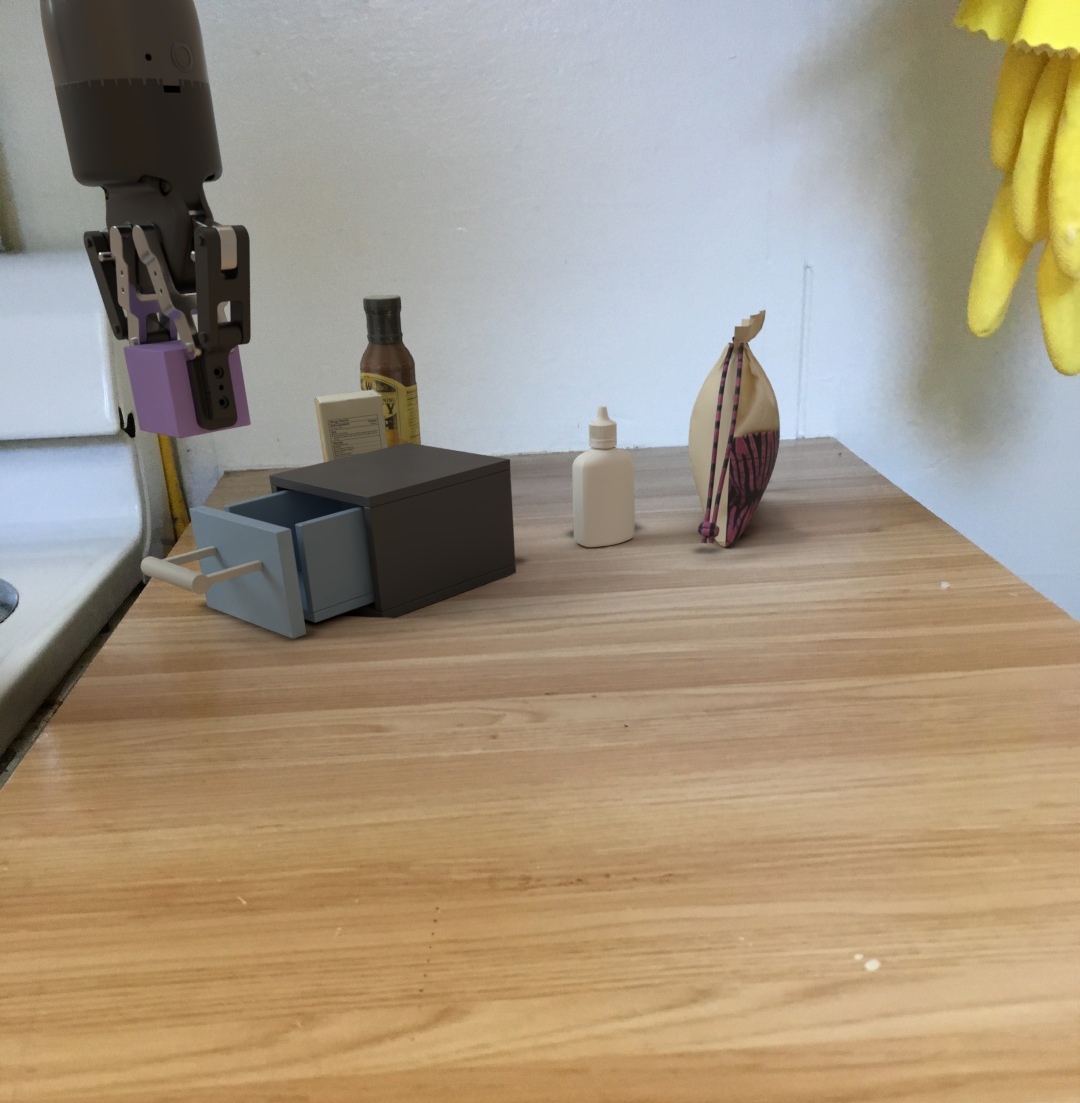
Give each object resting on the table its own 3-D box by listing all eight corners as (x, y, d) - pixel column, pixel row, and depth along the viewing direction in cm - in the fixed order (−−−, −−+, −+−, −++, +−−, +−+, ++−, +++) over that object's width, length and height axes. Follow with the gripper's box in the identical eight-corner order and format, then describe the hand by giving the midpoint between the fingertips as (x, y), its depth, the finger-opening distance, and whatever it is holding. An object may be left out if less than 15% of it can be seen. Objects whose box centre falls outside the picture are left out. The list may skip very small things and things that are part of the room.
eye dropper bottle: (573, 535, 99) (569, 403, 94) (633, 532, 99) (632, 400, 94) (574, 549, 95) (570, 412, 90) (636, 546, 95) (636, 409, 90)
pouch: (772, 563, 89) (785, 323, 81) (673, 561, 91) (677, 325, 83) (777, 490, 111) (788, 295, 103) (698, 489, 113) (702, 297, 105)
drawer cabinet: (383, 622, 81) (368, 497, 76) (286, 590, 88) (268, 475, 84) (516, 572, 90) (510, 459, 86) (418, 547, 98) (408, 442, 94)
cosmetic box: (389, 509, 111) (377, 388, 106) (398, 519, 107) (385, 394, 102) (328, 516, 109) (312, 394, 104) (334, 527, 105) (318, 400, 100)
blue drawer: (223, 664, 72) (202, 553, 69) (139, 628, 79) (117, 525, 76) (433, 588, 84) (425, 491, 81) (345, 563, 91) (333, 472, 88)
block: (179, 438, 58) (163, 351, 56) (139, 430, 61) (122, 346, 59) (251, 425, 61) (238, 341, 59) (209, 417, 64) (195, 337, 62)
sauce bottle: (358, 482, 122) (337, 297, 114) (397, 471, 127) (379, 292, 118) (397, 489, 119) (378, 298, 110) (436, 477, 123) (421, 293, 114)
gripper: (1, 91, 56) (76, 422, 63) (130, 58, 47) (201, 448, 54) (133, 96, 61) (189, 402, 68) (274, 66, 52) (321, 424, 59)
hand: (194, 421), depth 61 cm, fingers closed on block, 4 cm apart
